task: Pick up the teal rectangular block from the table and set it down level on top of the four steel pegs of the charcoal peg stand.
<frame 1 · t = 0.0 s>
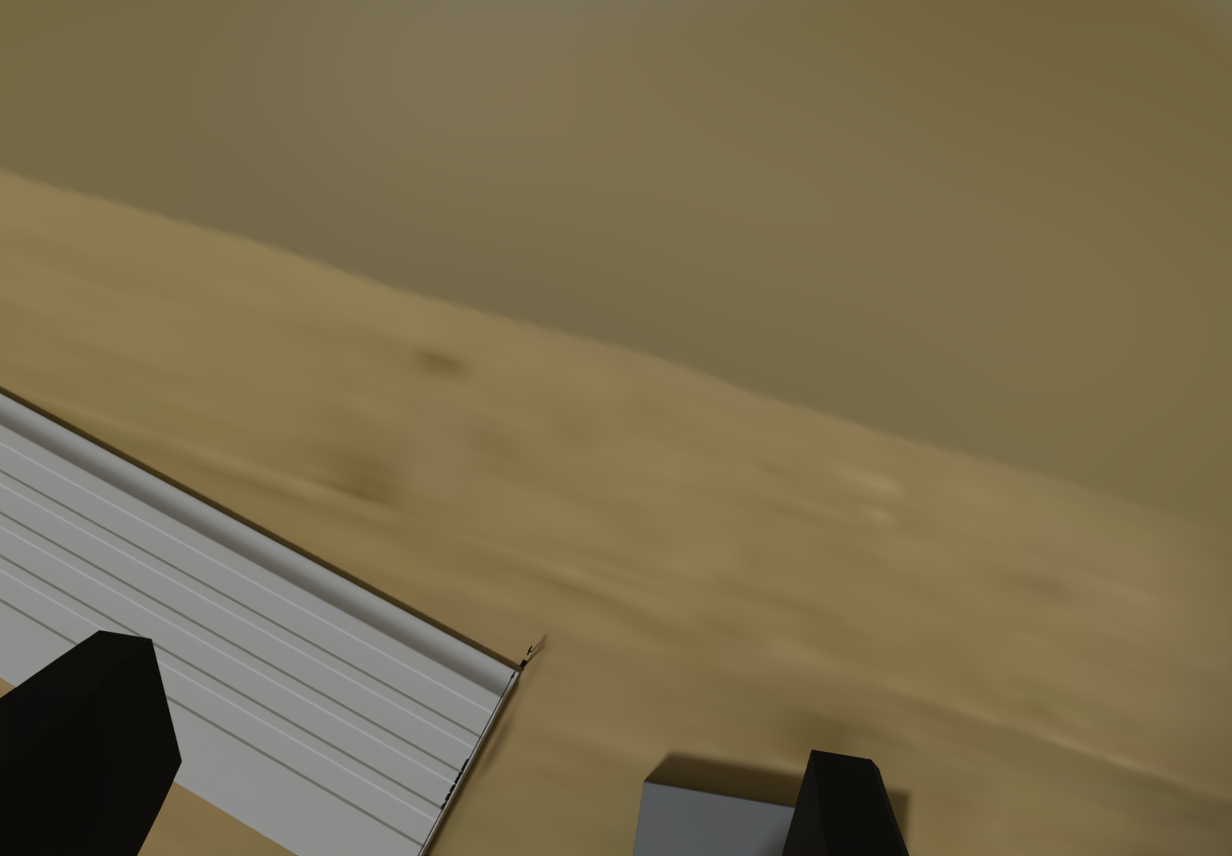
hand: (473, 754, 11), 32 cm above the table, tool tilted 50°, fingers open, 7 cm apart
white ridged flat slab: (182, 606, 44), on the table
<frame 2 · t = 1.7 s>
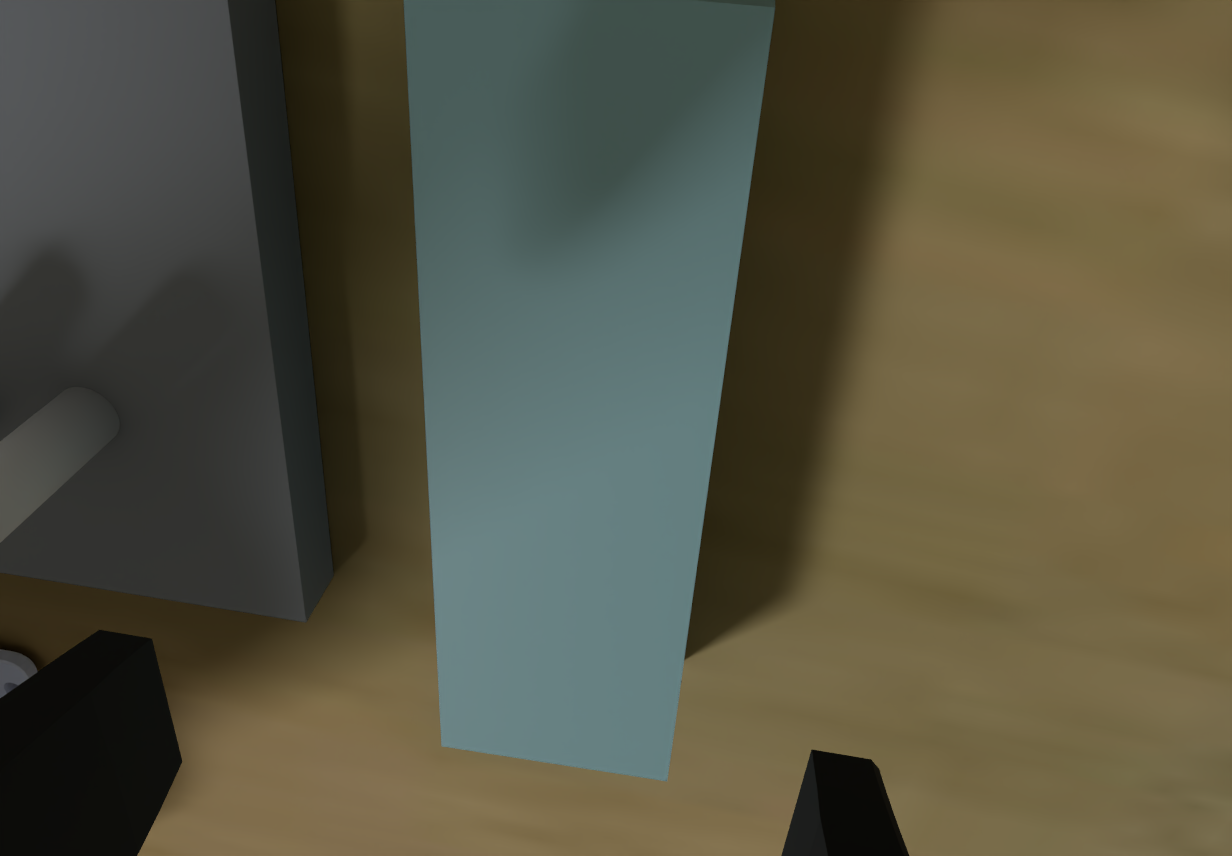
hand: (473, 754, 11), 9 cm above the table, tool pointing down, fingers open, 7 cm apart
teal rectangular block: (598, 367, 18), on the table
peg stand: (20, 145, 17), on the table
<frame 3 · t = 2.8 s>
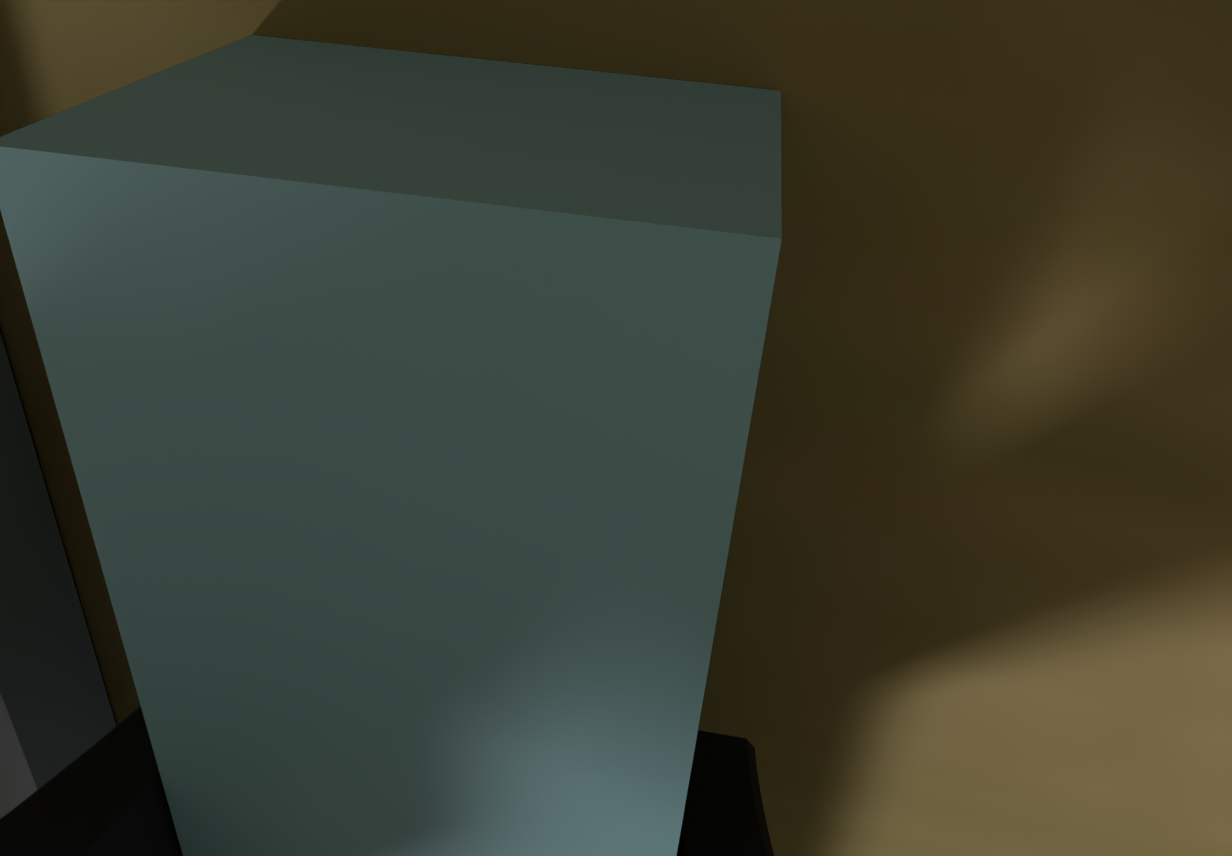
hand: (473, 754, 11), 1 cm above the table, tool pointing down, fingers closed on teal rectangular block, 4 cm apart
teal rectangular block: (507, 650, 12), on the table, touching gripper
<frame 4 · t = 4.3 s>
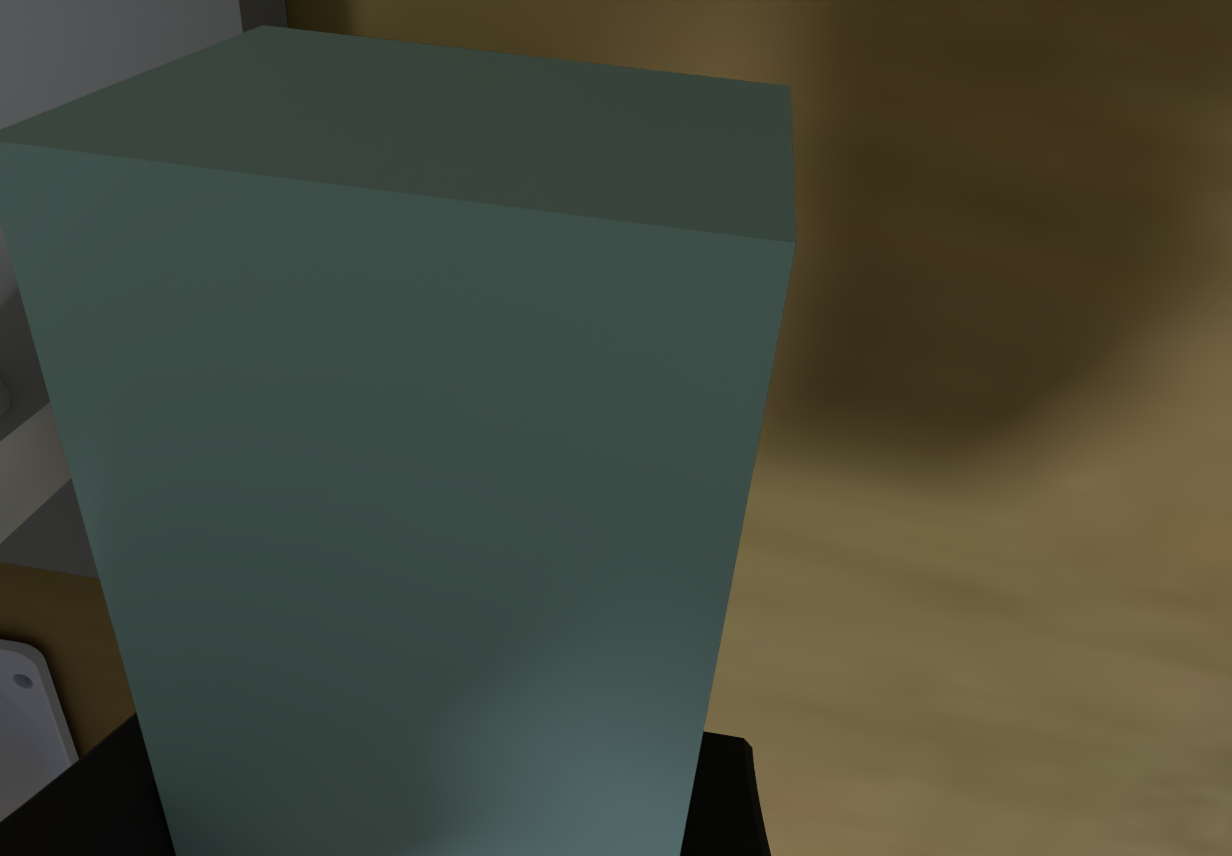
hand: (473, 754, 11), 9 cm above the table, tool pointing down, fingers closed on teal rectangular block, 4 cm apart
teal rectangular block: (505, 652, 12), point 7 cm above the table, touching gripper
peg stand: (31, 139, 17), on the table
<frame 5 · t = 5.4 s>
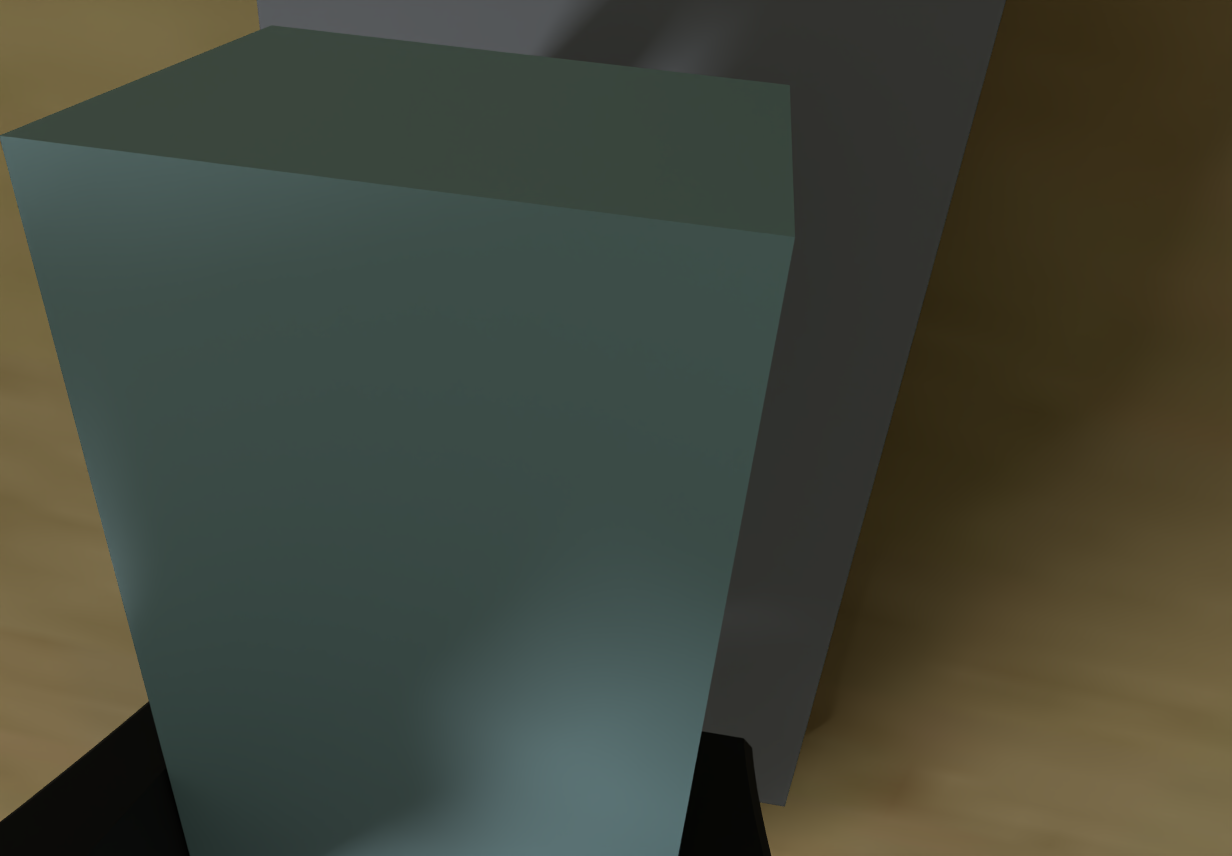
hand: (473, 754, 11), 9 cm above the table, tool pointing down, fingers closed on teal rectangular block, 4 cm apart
teal rectangular block: (509, 644, 12), point 7 cm above the table, touching gripper
peg stand: (596, 379, 18), on the table
when the fingers open (8 cm above the table, at t = 6.0 s): teal rectangular block stays where it is, resting on peg stand.
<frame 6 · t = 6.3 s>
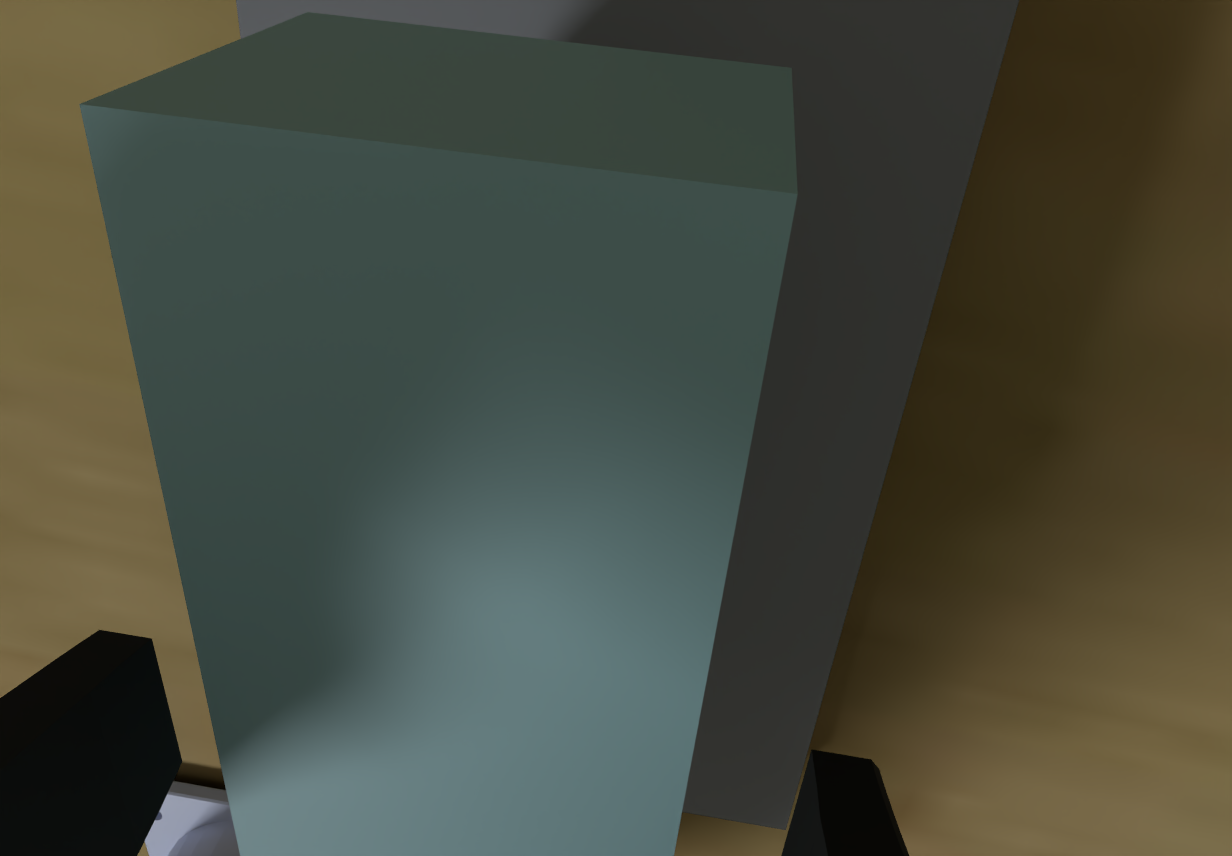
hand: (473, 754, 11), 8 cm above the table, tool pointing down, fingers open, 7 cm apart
teal rectangular block: (522, 606, 13), point 5 cm above the table, touching peg stand
peg stand: (591, 395, 17), on the table
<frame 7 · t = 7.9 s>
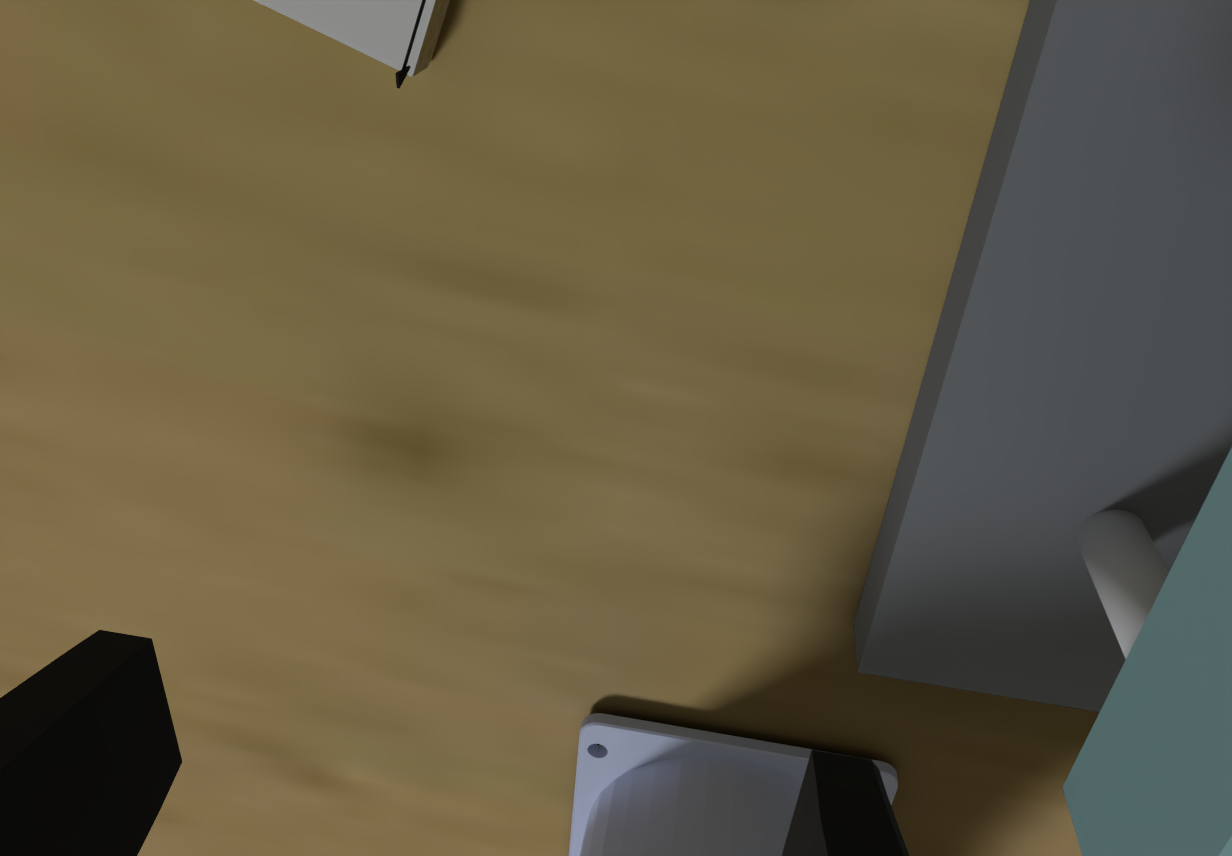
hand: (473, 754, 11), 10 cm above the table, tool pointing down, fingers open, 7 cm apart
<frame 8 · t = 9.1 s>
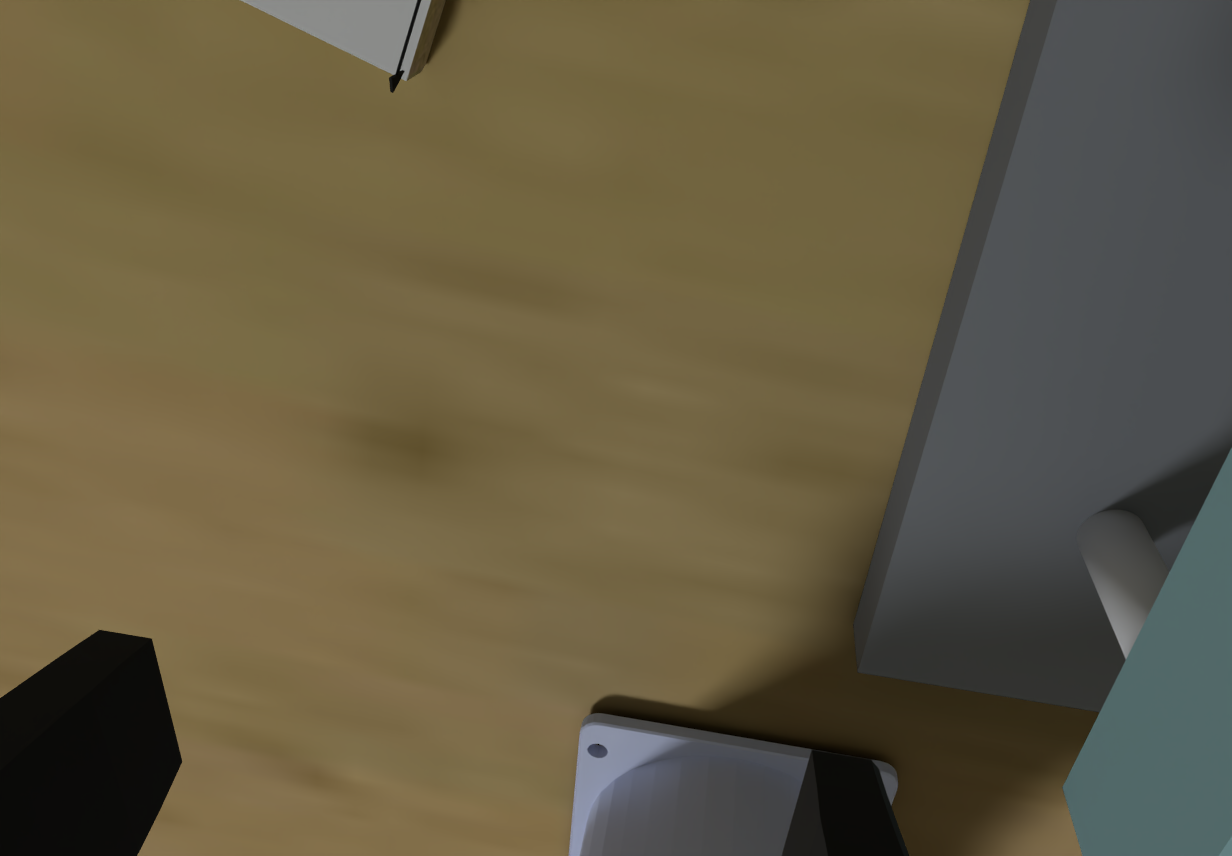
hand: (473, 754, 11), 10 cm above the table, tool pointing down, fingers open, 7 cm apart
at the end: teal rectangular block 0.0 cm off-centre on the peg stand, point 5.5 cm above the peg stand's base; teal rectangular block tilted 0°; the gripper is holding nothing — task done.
